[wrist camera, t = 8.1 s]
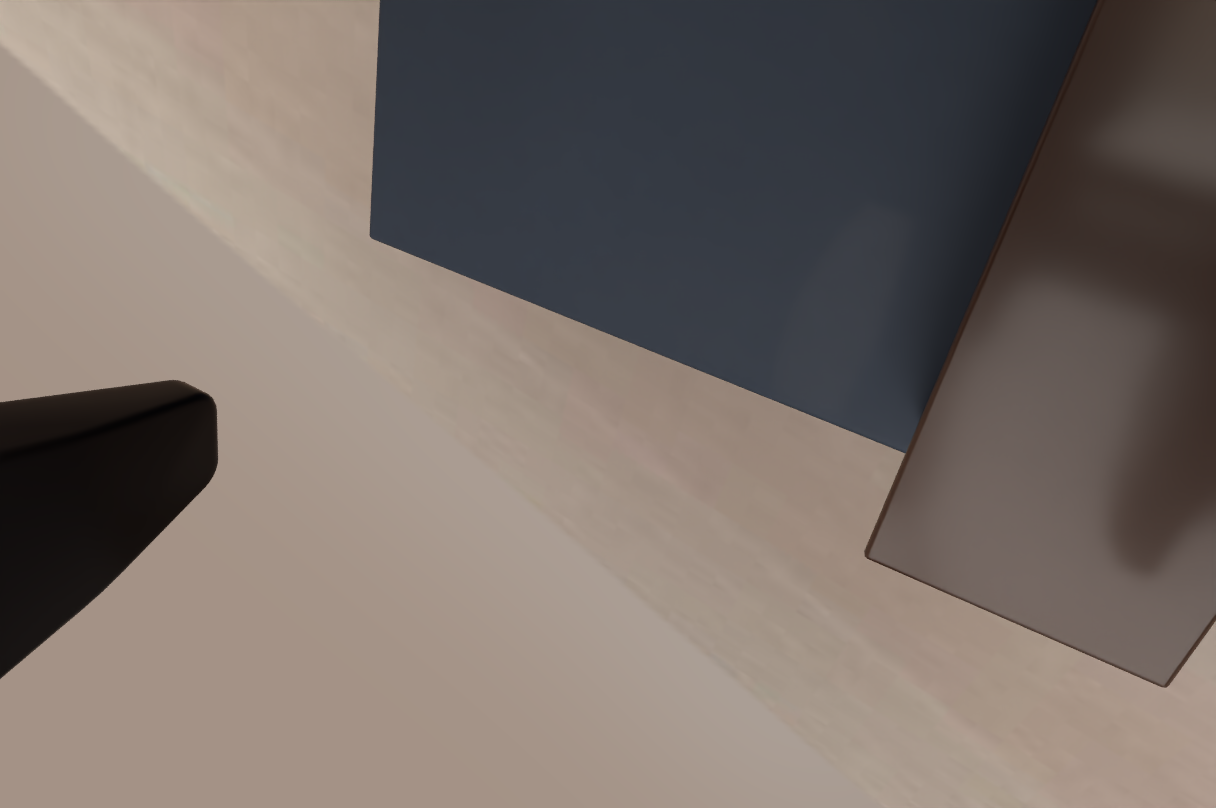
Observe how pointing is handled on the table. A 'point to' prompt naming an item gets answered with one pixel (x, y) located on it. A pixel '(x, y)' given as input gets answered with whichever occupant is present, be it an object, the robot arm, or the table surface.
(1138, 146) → the block
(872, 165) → the shelf
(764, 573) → the table surface
